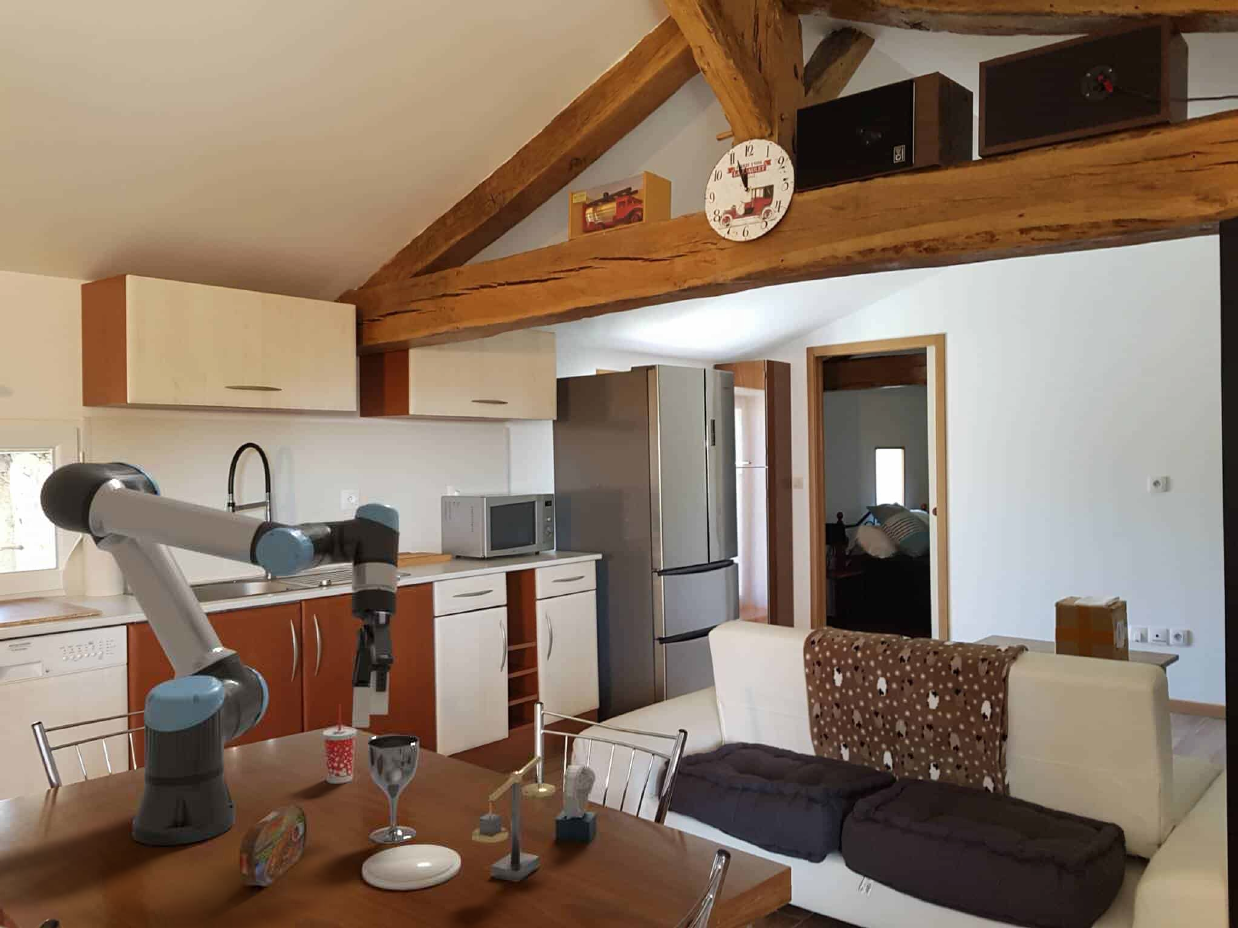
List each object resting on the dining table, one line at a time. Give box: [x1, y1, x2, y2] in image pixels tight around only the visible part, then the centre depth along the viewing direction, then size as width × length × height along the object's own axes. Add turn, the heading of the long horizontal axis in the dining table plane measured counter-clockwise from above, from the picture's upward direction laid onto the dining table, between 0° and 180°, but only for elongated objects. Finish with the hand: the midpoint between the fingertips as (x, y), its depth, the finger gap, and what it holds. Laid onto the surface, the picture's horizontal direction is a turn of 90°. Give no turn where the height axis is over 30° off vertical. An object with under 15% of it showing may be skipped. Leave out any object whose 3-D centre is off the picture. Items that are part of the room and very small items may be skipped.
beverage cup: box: [322, 704, 357, 784], centre depth 181 cm, size 6×6×14 cm
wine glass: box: [367, 733, 420, 845], centre depth 153 cm, size 8×8×15 cm
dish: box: [361, 844, 462, 891], centre depth 140 cm, size 14×14×1 cm
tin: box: [238, 805, 308, 887], centre depth 139 cm, size 15×3×8 cm, turn 171°
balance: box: [471, 755, 557, 883], centre depth 140 cm, size 18×5×15 cm, turn 153°
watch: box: [555, 763, 597, 843], centre depth 153 cm, size 6×8×11 cm
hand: (369, 720), depth 156 cm, fingers open, 13 cm apart
